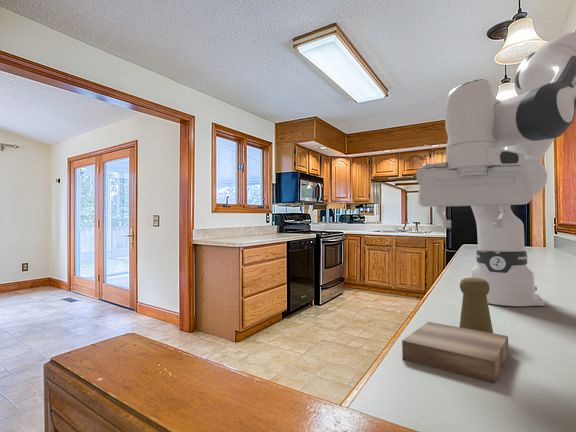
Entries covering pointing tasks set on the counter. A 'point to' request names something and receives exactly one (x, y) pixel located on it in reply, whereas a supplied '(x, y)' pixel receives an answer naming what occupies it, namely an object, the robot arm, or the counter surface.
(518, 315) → the counter surface
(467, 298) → the olive pawn
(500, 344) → the walnut base
